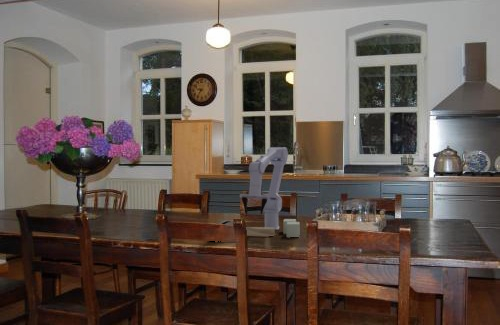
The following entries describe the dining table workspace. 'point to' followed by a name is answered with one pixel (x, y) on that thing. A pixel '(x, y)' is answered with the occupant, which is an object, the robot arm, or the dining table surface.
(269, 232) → the beige rectangular bar
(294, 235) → the end cap
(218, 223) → the hinge
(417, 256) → the dining table surface
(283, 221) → the pale green block
